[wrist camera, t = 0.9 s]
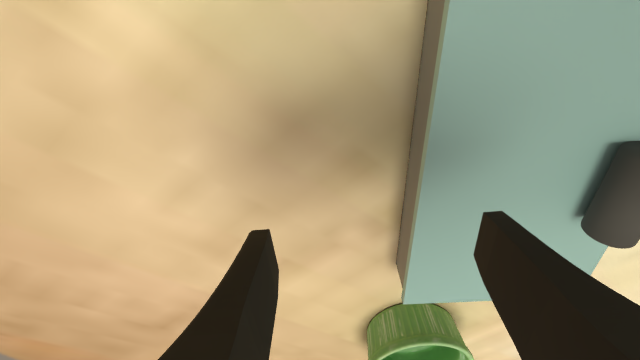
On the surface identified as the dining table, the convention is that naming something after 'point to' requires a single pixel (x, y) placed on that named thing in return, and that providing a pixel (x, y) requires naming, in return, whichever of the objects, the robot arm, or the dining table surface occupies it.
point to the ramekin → (415, 334)
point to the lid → (527, 137)
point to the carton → (419, 126)
